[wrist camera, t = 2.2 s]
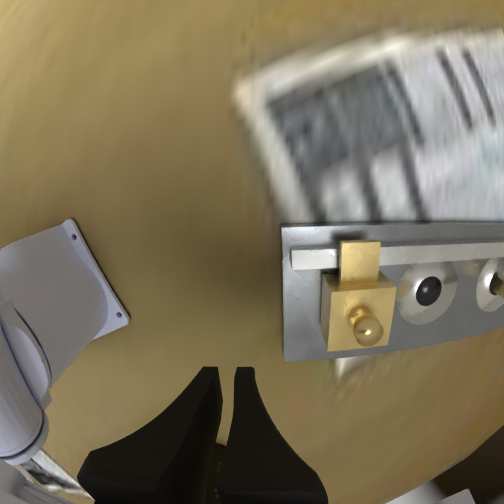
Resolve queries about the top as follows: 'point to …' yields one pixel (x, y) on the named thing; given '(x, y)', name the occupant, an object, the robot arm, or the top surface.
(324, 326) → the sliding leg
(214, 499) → the supplement bottle
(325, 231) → the bolt plate
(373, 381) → the top surface
